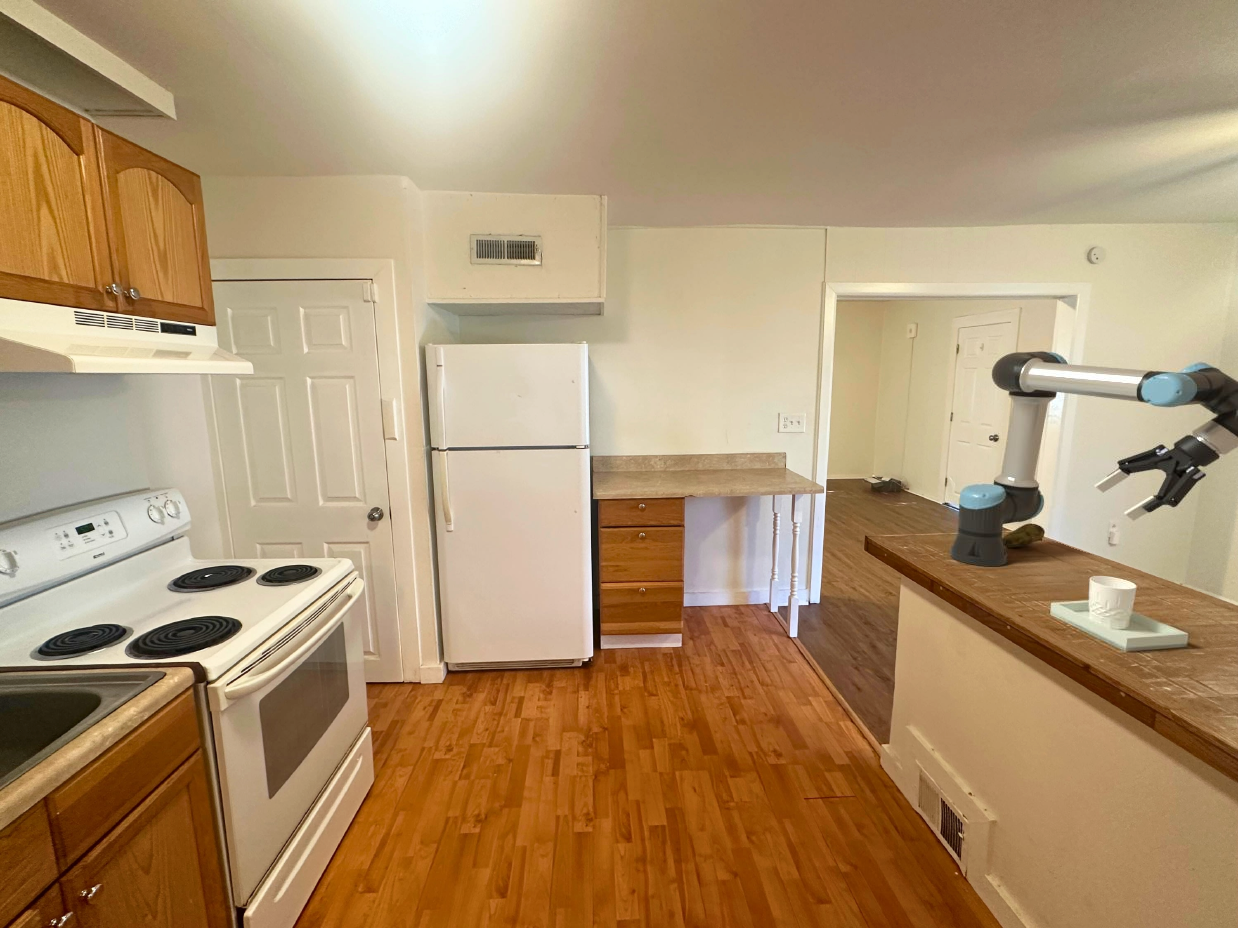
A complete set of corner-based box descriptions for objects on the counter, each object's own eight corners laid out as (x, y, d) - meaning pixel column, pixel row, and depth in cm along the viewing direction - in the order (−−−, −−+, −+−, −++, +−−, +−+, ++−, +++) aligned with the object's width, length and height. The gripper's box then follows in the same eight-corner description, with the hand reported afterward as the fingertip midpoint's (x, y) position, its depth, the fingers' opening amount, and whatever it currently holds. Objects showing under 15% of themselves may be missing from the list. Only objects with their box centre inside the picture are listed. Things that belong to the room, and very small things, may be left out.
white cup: (1140, 632, 117) (1146, 589, 115) (1099, 629, 118) (1103, 587, 117) (1116, 616, 124) (1121, 576, 123) (1077, 614, 126) (1081, 575, 124)
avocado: (994, 542, 182) (995, 520, 181) (1037, 544, 179) (1039, 521, 178) (1004, 550, 174) (1006, 526, 173) (1050, 551, 171) (1052, 528, 170)
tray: (1050, 614, 128) (1051, 602, 128) (1103, 610, 129) (1104, 598, 129) (1125, 651, 111) (1127, 638, 110) (1186, 646, 111) (1188, 633, 111)
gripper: (1260, 479, 111) (1154, 539, 122) (1181, 432, 133) (1097, 486, 143) (1234, 459, 111) (1130, 520, 122) (1160, 415, 132) (1077, 470, 143)
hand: (1112, 502), depth 133 cm, fingers open, 13 cm apart
